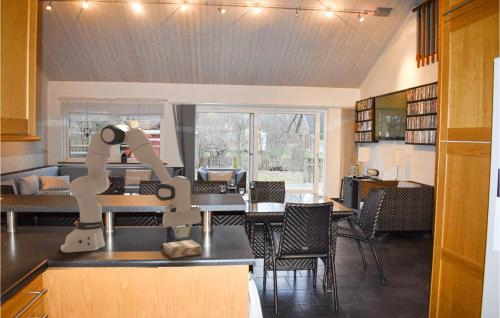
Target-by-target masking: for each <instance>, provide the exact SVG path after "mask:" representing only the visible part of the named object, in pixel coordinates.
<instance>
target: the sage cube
mask: <svg viewBox="0 0 500 318" xmlns="http://www.w3.org/2000/svg"><path fill="white" fill-rule="evenodd" d="M188 227H189V226H188V225H186V226H185V225H184V226H176V230H178V234H176V236H177V237H179V238H183V237H186V238H188V237H189V235H190V234H189V232H188Z"/></svg>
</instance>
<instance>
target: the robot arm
mask: <svg viewBox="0 0 500 318" xmlns="http://www.w3.org/2000/svg"><path fill="white" fill-rule="evenodd" d="M123 144H124V145H127V146H128V148H129V149H130V151H131V153H132V155H133V157H134V158H135V159H136V160H137V162H138V163H139V164H141V165H144V166H147V167H149V168H150V169H151V170H153V172H154V173H155V175H156V176H157V178H158V180H159V181H160V182H161V183H159V184H158V185H157V186H156V187H155V190H154V195H155V197H156V199H158V200H159V201H161V202H168V201H171V200H172V201H173V203H171V204H169V205H166V206H164V207H163V208H164V212H163V215H162V225H163V226H164V227H166V228H167V227H170V226H172V228H173V229H174V233H175V234H178V230H176V229H175V228H176V226H179V225H186V226H187V227H188V232H189V233H191V228H192V226H193V225H195V224H201V222H202V216H201V207H200V206H198V205H192V204H191V193H192V192H191V182H190V179H189V178H188V177H186V176H183V175H176V176H174V177H173V176H172V174H170V172H169V170H168V169H167V167H166V165H165V164H164V162H163V160H162V159H161V158H160V156H159V154H158V152H157V151H156V149H155V147H154V145H153V143H152V141H151V139H150V138H149V136H148V135H147V133H145V131H144V130H143V129H142V128H140V127H132V126H131V125H130V124H127V123H114V124H108V125H106V126H104V127H103V128H101V130H98V131H95V132H94V133H93V135H92V136H91V139H90V142H89V144H88V149H87V152H86V156H85V159H84V160H85V161H84V164H85V166H86V167H87V175H84V176H79V177H76V178H74V179H73V180H72V181H71V182H70V184H69V192H70V194H71V195H72V196H74V198H75V199H76V201H77V203H78V208H79V221H77V220H75V221H74V222H73V223H74V226H75V229H74V230H73V231H72V232H70V233H69V234H67V236H66V237H65V242H64V244H62V245H61V246H60V251H61V252H63V253H77V252H78V253H79V252H91V251H96V250H98V249H100V248H104V247H105V246H106V243H105V239H104V234H103V230H104V229H103V228H104V222H103V221H104V220H103V218H102V216H103V214H102V213H103V212H102V205H101V204H100V203H98V200H97V198H96V195H100V194H102V193H104V192H105V191H106V192H107V190H108V189H109V187H110V185H111V182H110V179H109V177H108V175H107V165H108V163H109V162H108V161H109V157H110V153H111V148H112V146H119V145H123Z"/></svg>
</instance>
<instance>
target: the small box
mask: <svg viewBox="0 0 500 318" xmlns="http://www.w3.org/2000/svg"><path fill="white" fill-rule="evenodd" d="M179 226H184V225H179ZM185 226H187V225H185ZM175 229H176V228H175ZM186 240H187V237H183V238H179V237H177V236H176V234H175V233H174V229H173V228H172V226H170V227H166V243H170V242H178V241H186Z"/></svg>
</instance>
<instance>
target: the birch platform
mask: <svg viewBox="0 0 500 318" xmlns="http://www.w3.org/2000/svg"><path fill="white" fill-rule="evenodd" d="M162 251H163V252H164V253H165V254H166V255H167V256H169V257H170V258H171V259H173V258H175V259H176V258H180V257H182V258H183V257H187V256H189V257H190V256H195V255H200V254H202V245H200V244H199V243H197V242H196V241H194V240H193V239H188V240H187V239H186V241H178V242H170V243H167V242H164V243H162Z"/></svg>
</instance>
